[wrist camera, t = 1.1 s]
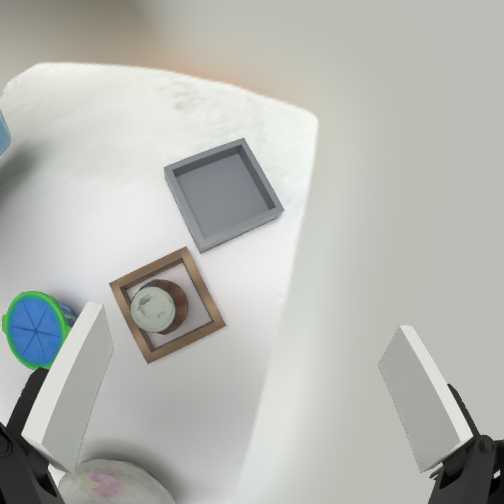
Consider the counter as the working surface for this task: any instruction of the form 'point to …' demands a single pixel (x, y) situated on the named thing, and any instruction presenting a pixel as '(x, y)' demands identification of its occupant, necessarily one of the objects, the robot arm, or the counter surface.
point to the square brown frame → (154, 269)
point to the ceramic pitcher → (112, 484)
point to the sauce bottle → (159, 307)
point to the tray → (222, 193)
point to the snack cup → (37, 328)
